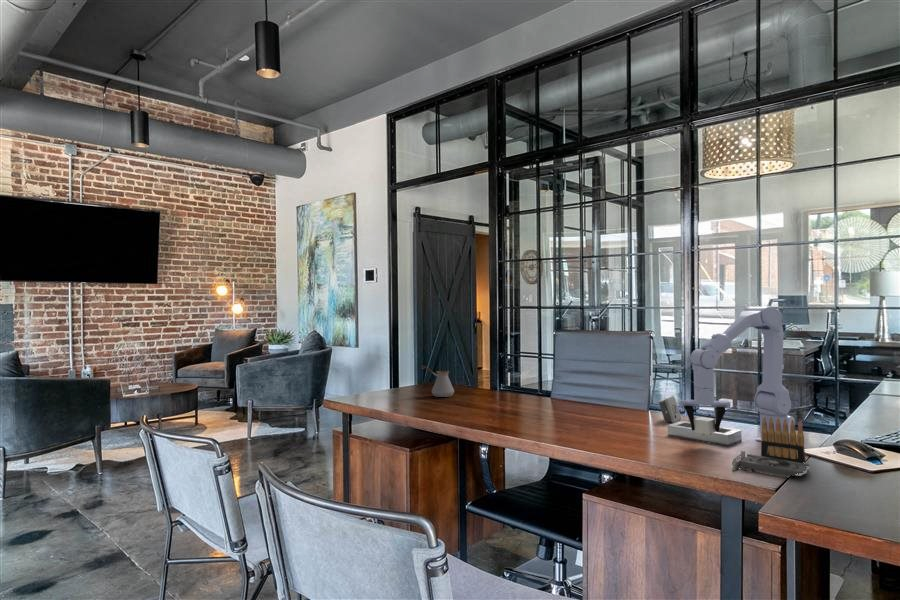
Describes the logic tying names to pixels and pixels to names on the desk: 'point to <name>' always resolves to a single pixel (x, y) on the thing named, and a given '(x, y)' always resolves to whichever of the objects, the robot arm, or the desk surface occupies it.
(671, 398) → the electrical switch
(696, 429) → the plug
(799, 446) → the ammunition clip
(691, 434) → the socket plate
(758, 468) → the graphics card
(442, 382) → the coffee pot
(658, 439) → the desk surface
